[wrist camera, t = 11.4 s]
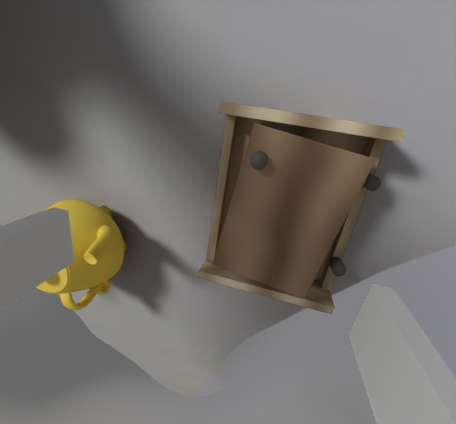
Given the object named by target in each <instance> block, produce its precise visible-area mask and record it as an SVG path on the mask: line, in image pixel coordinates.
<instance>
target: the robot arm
mask: <svg viewBox="0 0 456 424" xmlns="http://www.w3.org/2000/svg"><path fill="white" fill-rule="evenodd" d="M73 262H74V256H73V248H72V239H71V230H70V221H69V212H68V210H63V209H59V208H55V207H53V208H50V209H47V210H45V211H42V212H39V213H36V214H34V215H31V216H28V217H26V218H23V219H20V220H17V221H15V222H12V223H9V224H7V225H4V226H1V227H0V311H1V310H3V309H4V308H6V307H7V306H9V305H10V304H12V303H13V302H15V301H16V300H18V299H19V298H21V297H22V296H24V295H25V294H27V293H28V292H30V291H31V290H33V289H34V288H36V287H37V286H39V285H40V284H42V283H43V282H45V281H46V280H48V279H49V278H51V277H52V276H53V275H55V274H56V273H58V272H59V271H61V270H62V269H64V268H65V267H67V266H68V265H70V264H71V263H73ZM348 338H349V341H350V344H351V347H352V350H353V353H354V356H355V359H356V362H357V365H358V368H359V372H360V375H361V378H362V381H363V384H364V387H365V390H366V393H367V396H368V399H369V402H370V405H371V408H372V412H373V415H374V418H375V421H376V424H456V377H455V376H454V374H453V373H452V371H451V370H450V368H449V367H448V366H447V364H446V363H445V361H444V360H443V358H442V357H441V356H440V354H439V353H438V351H437V350H436V348H435V347H434V345H433V344H432V343H431V341H430V340H429V338H428V337H427V336H426V334H425V333H424V331H423V330H422V328H421V327H420V325H419V324H418V323H417V321H416V320H415V318H414V317H413V315H412V314H411V312H410V311H409V310H408V308H407V307H406V305H405V304H404V303H403V301H402V300H401V298H400V297H399V295H398V294H397V292H396V291H395V290H394V288H391V287H386V286H382V285H378V284H374V283H372V285H371V287H370V289H369V291H368V293H367V295H366V298H365V300H364V302H363V304H362V306H361V309H360V310H359V312H358V315H357V317H356V319H355V321H354V323H353V325H352V328H351V330H350V332H349V334H348Z"/></svg>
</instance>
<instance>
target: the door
mask: <svg viewBox="0 0 456 424" xmlns="http://www.w3.org/2000/svg"><path fill="white" fill-rule="evenodd" d="M375 160H376V159H374V158H371V157H368V156H365V155H362V154H359V153H355V152H352V151H349V150H345V149H342V148H339V147H335V146H332V145H329V144H325V143H322V142H319V141H315V140H312V139H309V138H305V137H302V136H299V135H295V134H292V133H289V132H285V131H282V130H279V129H275V128H272V127H269V126H265V125H262V124H258V123H254V126H253V129H252V132H251V136H250V139H249V142H248V146H247V149H246V152H245V156H244V159H243V162H242V166H241V169H240V173H239V176H238V179H237V183H236V186H235V189H234V193H233V196H232V199H231V203H230V206H229V209H228V213H227V216H226V220H225V223H224V226H223V230H222V233H221V236H220V240H219V243H218V246H217V250H216V253H215V256H214V260H213V263H212V265H215V266H218V267H220V268H223V269H226V270H228V271H231V272H234V273H236V274H239V275H242V276H245V277H247V278H250V279H253V280H255V281H258V282H261V283H263V284H266V285H269V286H271V287H274V288H277V289H279V290H282V291H285V292H287V293H290V294H293V295H295V296H298V297H301V298H303V299H304V298H305V296H306V294H307V292H308V290H309V289H310V287H311V285H312V283H313V281H314V279H315V277H316V275H317V273H318V271H319V269H320V267H321V265H322V263H323V261H324V259H325V257H326V256H327V254H328V252H329V250H330V248H331V246H332V244H333V242H334V240H335V238H336V236H337V234H338V232H339V230H340V228H341V226H342V224H343V223H344V221H345V219H346V217H347V215H348V213H349V211H350V209H351V207H352V205H353V203H354V201H355V199H356V197H357V195H358V193H359V191H360V190H361V188H362V186H363V184H364V182H365V180H366V178H367V176H368V174H369V172H370V170H371V168H372V166H373V164H374V162H375Z"/></svg>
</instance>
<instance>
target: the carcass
mask: <svg viewBox="0 0 456 424" xmlns="http://www.w3.org/2000/svg"><path fill="white" fill-rule="evenodd" d="M219 113H222V114H226V121H225V128H224V135H223V143H222V150H221V157H220V164H219V172H218V179H217V186H216V193H215V201H214V208H213V215H212V222H211V229H210V237H209V244H208V251H207V258H206V260H205V262H204V264H203V265H202V267H201V269H200V270H199V275H198V278H201V279H205V280H208V281H212V282H216V283H219V284H223V285H227V286H230V287H234V288H237V289H241V290H245V291H248V292H252V293H256V294H259V295H263V296H267V297H270V298H274V299H278V300H281V301H285V302H289V303H292V304H296V305H300V306H303V307H307V308H311V309H314V310H318V311H321V312H325V313H329V314H332V312H333V310H334V304H333V301H332V297H331V294H330V288H331V286H332V283H333V280H334V278H335V275H336V276H342V275H344V274H345V272H346V269H345V267H344V264H343V262H342V260H341V259H342V257H343V254H344V252H345V249H346V246H347V244H348V241H349V239H350V236H351V233H352V231H353V228H354V225H355V223H356V220H357V218H358V215H359V212H360V210H361V207H362V204H363V202H364V199H365V197H366V194H367V191H368V190H370V191H373V190H376V189H378V188H379V186H380V184H381V181H380V179H379V178H378V177H376V176H374V173H375V170H376V168H377V165H378V163H379V160H380V157H381V155H382V152H383V149H384V147H385V144H386V142H387V140H388V141H396V142H401V141H402V139H403V136H404V134H405V132H406V130H405V129H398V128H392V127H385V126H379V125H372V124H366V123H359V122H353V121H346V120H339V119H333V118H326V117H320V116H313V115H307V114H300V113H293V112H287V111H280V110H274V109H267V108H261V107H254V106H247V105H241V104H234V103H228V102H221V103H220V111H219ZM254 123H258V124H262V125H265V126H269V127H272V128H275V129H279V130H282V131H285V132H289V133H292V134H295V135H299V136H302V137H305V138H309V139H312V140H315V141H319V142H322V143H325V144H329V145H332V146H335V147H339V148H342V149H345V150H349V151H352V152H355V153H359V154H362V155H365V156H368V157H371V158H374V159H376V160H375V162H374V164H373V166H372V168H371V170H370V172H369V174H368V176H367V178H366V180H365V182H364V184H363V186H362V188H361V190H360V191H359V193H358V195H357V197H356V199H355V201H354V203H353V205H352V207H351V209H350V211H349V213H348V215H347V217H346V219H345V221H344V223H343V224H342V226H341V228H340V230H339V232H338V234H337V236H336V238H335V240H334V242H333V244H332V246H331V248H330V250H329V252H328V254H327V256H326V257H325V259H324V261H323V263H322V265H321V267H320V269H319V271H318V273H317V275H316V277H315V279H314V281H313V283H312V285H311V287H310V289H309V290H308V292H307V294H306V296H305V298H304V299H303V298H301V297H298V296H295V295H293V294H290V293H287V292H285V291H282V290H279V289H277V288H274V287H271V286H269V285H266V284H263V283H261V282H258V281H255V280H253V279H250V278H247V277H245V276H242V275H239V274H236V273H234V272H231V271H228V270H226V269H223V268H220V267H218V266H215V265H212V263H213V260H214V256H215V253H216V250H217V246H218V243H219V240H220V236H221V233H222V230H223V226H224V223H225V220H226V216H227V213H228V209H229V206H230V203H231V199H232V196H233V193H234V189H235V186H236V183H237V179H238V176H239V173H240V169H241V166H242V162H243V159H244V156H245V152H246V149H247V146H248V142H249V139H250V136H251V132H252V129H253V126H254Z"/></svg>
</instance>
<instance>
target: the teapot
mask: <svg viewBox="0 0 456 424" xmlns="http://www.w3.org/2000/svg"><path fill="white" fill-rule="evenodd" d="M53 207H55V208H59V209H63V210H68V212H69V221H70V230H71V239H72V248H73V256H74V262H73V263H71V264H70V265H68V266H67V267H65V268H64V269H62V270H61V271H59V272H58V273H56V274H55V275H53V276H52V277H51V278H49V279H48V280H46V281H45V282H43V283H42V284H40V285H39V286H37V288H38V289H40V290H42V291H45V292H49V293H61V294H60V296H61V301H62V303H63V305H64V306H65V307H67V308H68V309H71V310H79V309H82V308H84V307H86V306H87V305H88V304H89V303H90V302H91V301H92V299H93V298H94V297H95V295H96V294H100V295H101V294H105V293H106V292H107V291H108V290H109V287H110V283H109V281H108V279H110V278H111V277H113V276H114V275H115V274H116V273H117V272H118V271H119V269H120V267H121V265H122V263H123V260H124V252H125V251H126V250H127V244H126V243H125V241H123V238H122V234H121V232H120V229H119V228H118V226H117V224H116V223H115V221H114V220H113V219H112V218H111V217H112V213H111V211H110V209H109V208H108V207H106V206H101V207H100V208H98V207H97V206H95V205H93V204H91V203H88V202H85V201H81V200H65V201H61V202H58V203H56V204H54V205H52V206H50V207H48V208H47V209H50V208H53ZM47 209H45V210H47ZM45 210H44V211H45ZM89 288H90V290H89V291H88V292H87V294H86V295H85V296H84V298H83V299H82V300H81V301H80V302H79V303H77V304H76V303H75V302H74V301H73V299H72V295H71V292H74V291H80V290H85V289H89ZM100 288H101V289H100Z"/></svg>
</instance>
